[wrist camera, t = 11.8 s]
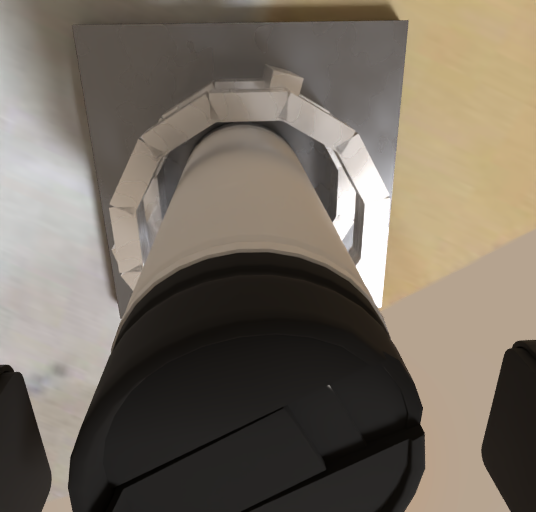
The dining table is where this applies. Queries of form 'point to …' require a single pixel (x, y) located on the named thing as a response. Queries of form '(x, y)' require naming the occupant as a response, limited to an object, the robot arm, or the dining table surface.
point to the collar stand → (243, 119)
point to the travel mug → (249, 358)
